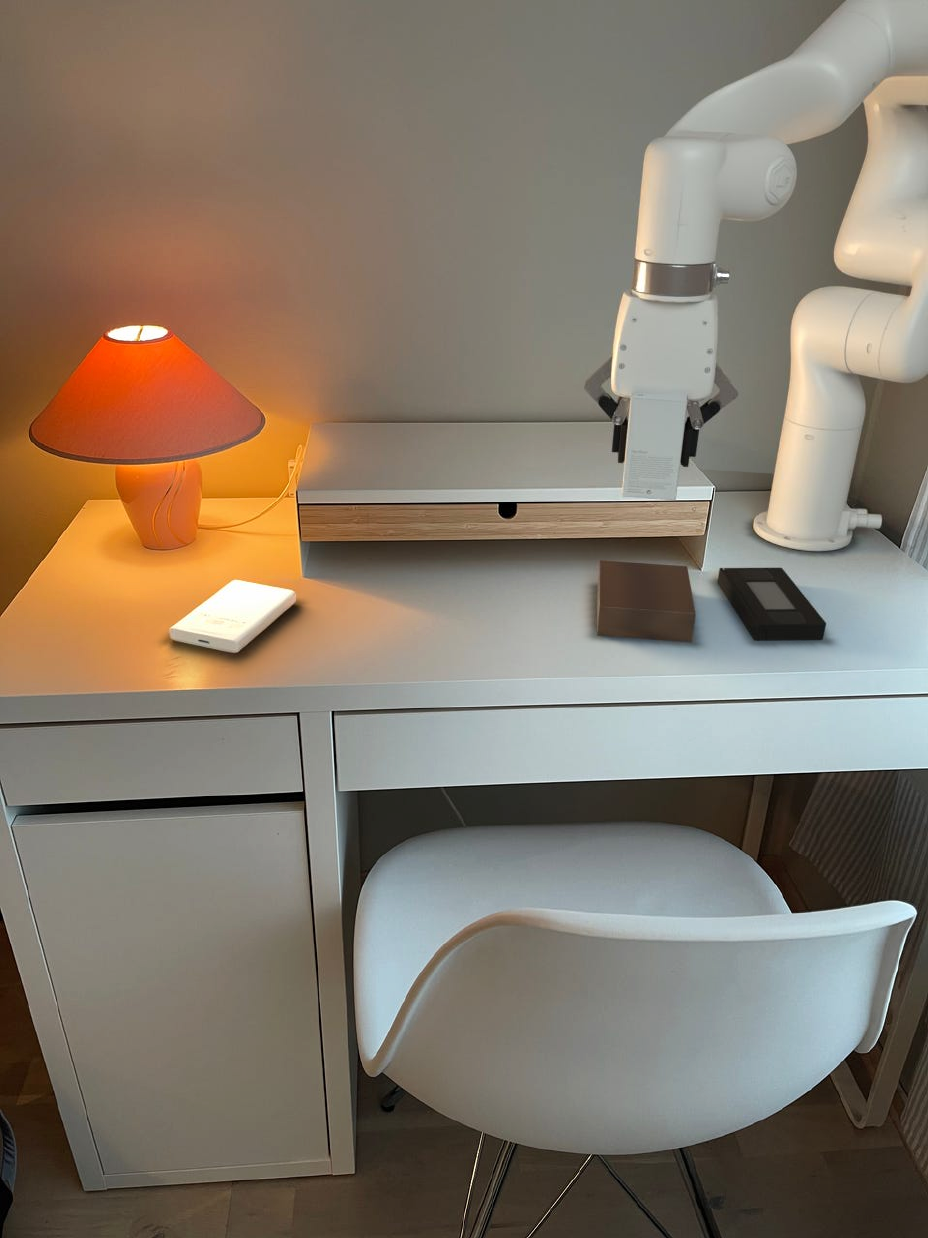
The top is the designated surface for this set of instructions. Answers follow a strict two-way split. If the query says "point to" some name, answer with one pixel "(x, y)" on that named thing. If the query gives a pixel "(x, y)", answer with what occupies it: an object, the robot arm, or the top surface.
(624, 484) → the small box
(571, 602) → the top surface
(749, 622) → the vhs tape
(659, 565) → the walnut block
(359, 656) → the top surface
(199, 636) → the hard drive
